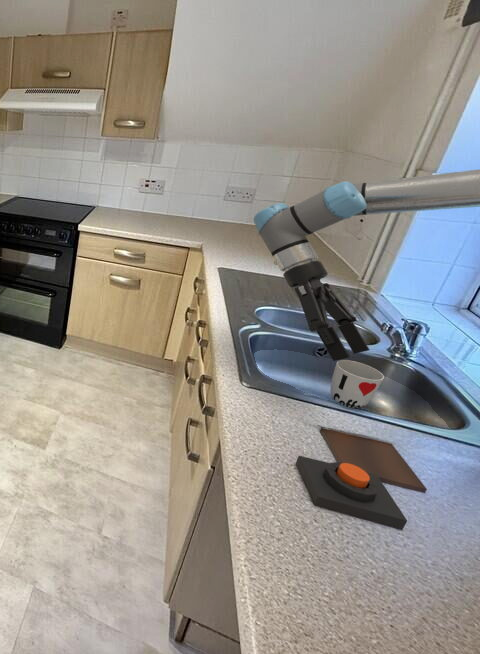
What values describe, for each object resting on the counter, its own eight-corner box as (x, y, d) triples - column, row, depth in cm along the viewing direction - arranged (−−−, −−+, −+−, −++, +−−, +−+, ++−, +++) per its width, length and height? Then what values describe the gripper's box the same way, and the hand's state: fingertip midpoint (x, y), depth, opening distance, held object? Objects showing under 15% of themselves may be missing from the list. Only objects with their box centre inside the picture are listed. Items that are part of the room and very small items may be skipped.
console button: (359, 474, 74) (363, 466, 73) (370, 491, 70) (374, 484, 70) (332, 467, 75) (335, 460, 75) (342, 484, 72) (345, 476, 71)
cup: (321, 405, 97) (335, 369, 94) (324, 390, 103) (337, 356, 99) (367, 422, 92) (384, 385, 89) (367, 405, 98) (383, 369, 94)
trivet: (389, 447, 85) (391, 443, 85) (425, 493, 75) (427, 489, 74) (319, 431, 89) (321, 427, 89) (343, 472, 79) (345, 468, 78)
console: (372, 483, 77) (380, 467, 75) (402, 530, 68) (412, 512, 66) (295, 463, 81) (301, 447, 79) (314, 505, 72) (321, 488, 70)
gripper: (302, 273, 106) (349, 353, 98) (260, 273, 92) (310, 367, 84) (337, 260, 100) (389, 344, 92) (297, 258, 86) (355, 357, 79)
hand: (352, 355), depth 88 cm, fingers open, 13 cm apart
